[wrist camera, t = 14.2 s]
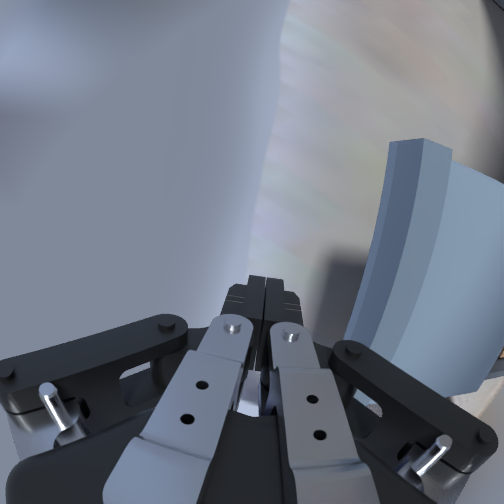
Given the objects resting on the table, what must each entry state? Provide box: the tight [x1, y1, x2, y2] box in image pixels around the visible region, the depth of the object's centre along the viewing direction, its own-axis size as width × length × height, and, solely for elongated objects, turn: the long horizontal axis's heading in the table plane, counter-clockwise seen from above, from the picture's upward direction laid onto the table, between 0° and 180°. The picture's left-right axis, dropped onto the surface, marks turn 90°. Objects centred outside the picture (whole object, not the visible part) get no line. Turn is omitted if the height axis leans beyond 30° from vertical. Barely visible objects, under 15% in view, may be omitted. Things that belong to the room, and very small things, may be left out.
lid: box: [343, 138, 504, 407], centre depth 12 cm, size 16×15×4 cm
